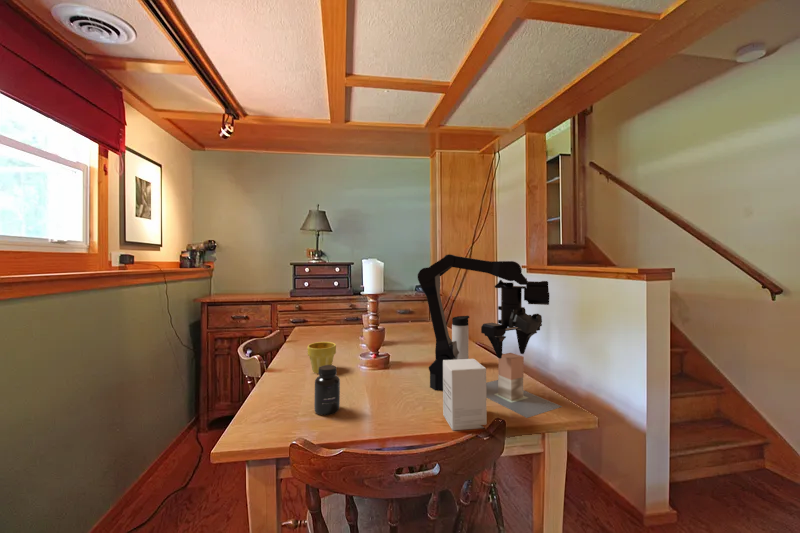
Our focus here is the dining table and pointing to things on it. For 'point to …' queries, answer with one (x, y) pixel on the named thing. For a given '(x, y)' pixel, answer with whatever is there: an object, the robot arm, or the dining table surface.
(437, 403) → the dining table surface
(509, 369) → the terracotta block
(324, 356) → the plant pot
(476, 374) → the supplement box
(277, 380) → the dining table surface
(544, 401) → the build board
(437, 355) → the robot arm
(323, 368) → the supplement bottle
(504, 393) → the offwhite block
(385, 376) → the dining table surface
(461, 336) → the travel mug
